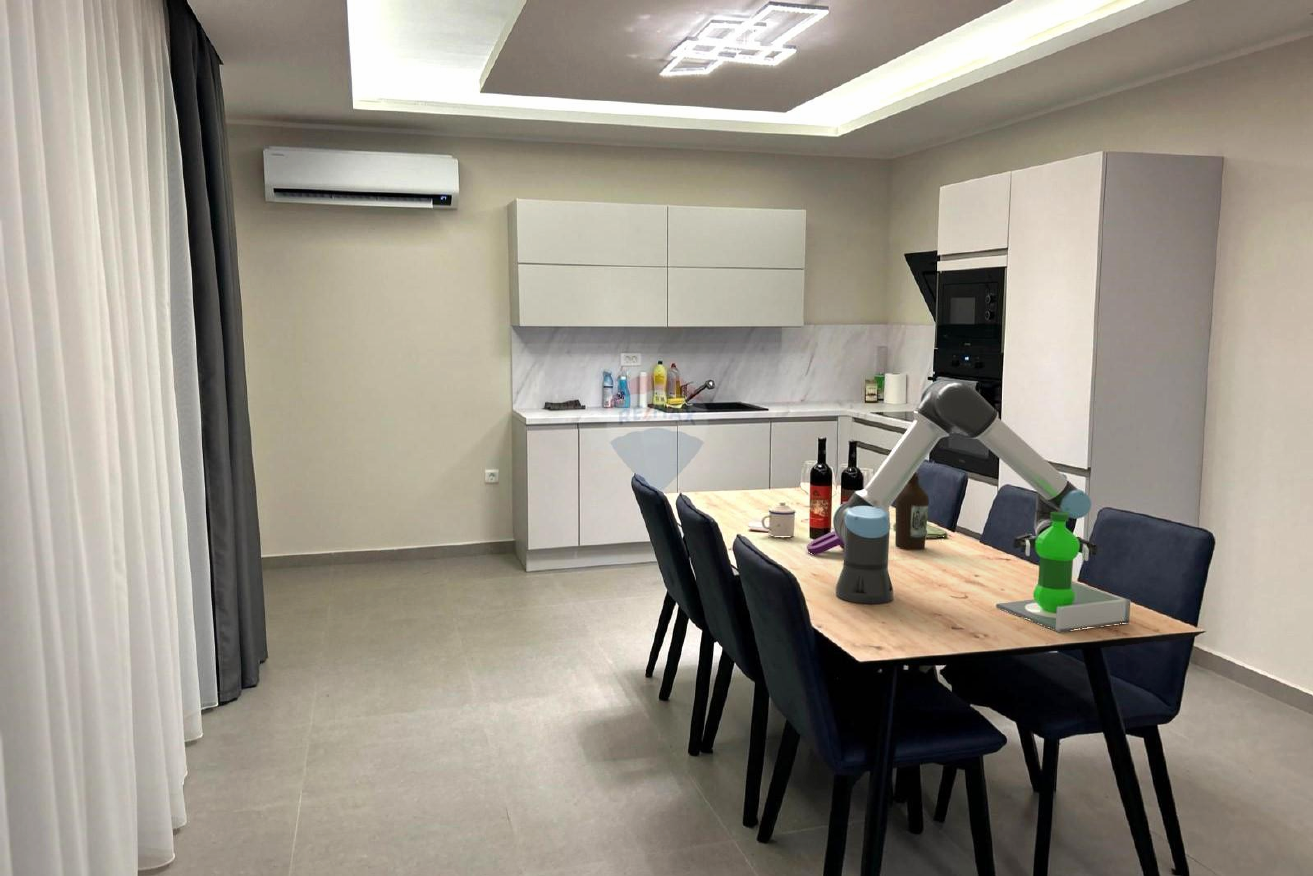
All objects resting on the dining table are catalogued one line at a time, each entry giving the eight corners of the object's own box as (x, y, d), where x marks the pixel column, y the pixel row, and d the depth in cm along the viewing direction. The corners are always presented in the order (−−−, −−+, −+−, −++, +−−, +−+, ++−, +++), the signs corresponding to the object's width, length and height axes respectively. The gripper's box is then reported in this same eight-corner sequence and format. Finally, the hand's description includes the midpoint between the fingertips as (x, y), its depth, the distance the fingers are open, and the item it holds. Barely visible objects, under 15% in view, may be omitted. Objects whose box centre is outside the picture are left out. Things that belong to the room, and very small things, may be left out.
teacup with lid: (787, 532, 340) (789, 499, 339) (799, 537, 331) (800, 504, 330) (756, 533, 336) (757, 500, 335) (766, 539, 328) (767, 505, 326)
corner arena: (1060, 633, 233) (1061, 608, 232) (996, 607, 253) (997, 585, 252) (1128, 623, 241) (1130, 600, 240) (1061, 599, 261) (1063, 578, 261)
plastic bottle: (1079, 617, 242) (1086, 518, 239) (1034, 614, 244) (1040, 515, 241) (1070, 605, 252) (1077, 510, 249) (1027, 602, 254) (1033, 508, 251)
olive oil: (886, 544, 323) (890, 470, 320) (911, 542, 328) (915, 468, 325) (908, 551, 314) (911, 475, 311) (933, 548, 319) (937, 473, 316)
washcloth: (917, 541, 331) (917, 532, 331) (890, 530, 348) (890, 521, 348) (950, 539, 335) (951, 530, 334) (922, 528, 352) (923, 520, 351)
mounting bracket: (820, 575, 306) (872, 551, 306) (809, 551, 305) (862, 527, 305) (814, 567, 315) (865, 544, 315) (804, 544, 314) (854, 521, 314)
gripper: (1100, 553, 260) (1110, 572, 240) (1001, 545, 268) (1003, 563, 248) (1102, 525, 259) (1113, 542, 239) (1003, 518, 267) (1005, 534, 247)
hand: (1057, 553), depth 243 cm, fingers open, 13 cm apart
